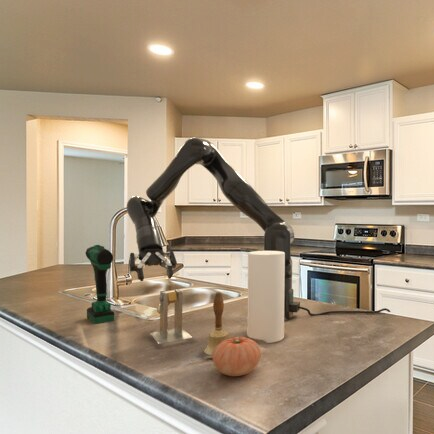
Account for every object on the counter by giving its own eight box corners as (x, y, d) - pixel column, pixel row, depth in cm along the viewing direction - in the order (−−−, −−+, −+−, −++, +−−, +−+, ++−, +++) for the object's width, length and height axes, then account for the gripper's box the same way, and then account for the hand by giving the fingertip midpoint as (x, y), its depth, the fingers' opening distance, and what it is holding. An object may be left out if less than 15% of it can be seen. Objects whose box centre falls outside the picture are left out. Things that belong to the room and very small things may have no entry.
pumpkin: (213, 365, 91) (214, 332, 91) (259, 361, 94) (259, 329, 94) (210, 385, 81) (211, 347, 81) (262, 380, 83) (262, 344, 83)
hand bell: (235, 358, 96) (236, 295, 96) (201, 361, 94) (201, 296, 93) (233, 347, 104) (234, 288, 104) (201, 349, 101) (202, 290, 101)
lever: (156, 316, 117) (155, 306, 118) (167, 314, 118) (166, 304, 120) (167, 302, 107) (165, 291, 108) (178, 300, 108) (177, 290, 110)
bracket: (149, 337, 111) (150, 289, 111) (181, 331, 116) (181, 286, 116) (158, 348, 102) (159, 297, 102) (192, 341, 108) (193, 293, 107)
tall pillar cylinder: (282, 330, 118) (283, 250, 118) (285, 342, 108) (286, 254, 108) (247, 332, 117) (248, 250, 116) (246, 344, 106) (247, 254, 106)
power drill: (94, 327, 119) (94, 247, 119) (78, 309, 141) (78, 241, 140) (114, 324, 123) (115, 247, 122) (96, 307, 144) (96, 241, 144)
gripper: (127, 234, 127) (134, 273, 118) (172, 233, 136) (181, 269, 127) (125, 249, 132) (131, 287, 122) (168, 247, 140) (176, 283, 131)
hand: (156, 278), depth 125 cm, fingers open, 8 cm apart
